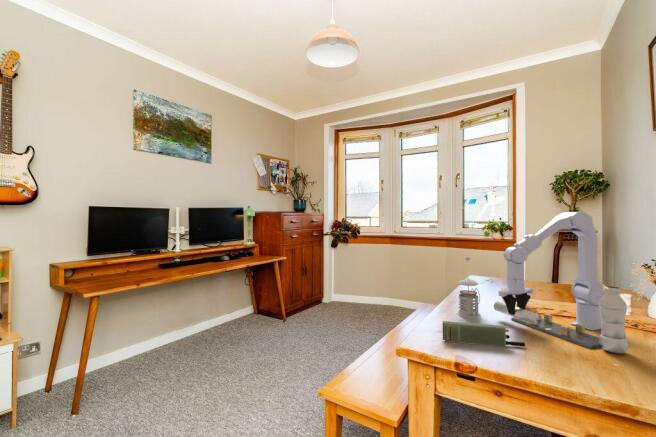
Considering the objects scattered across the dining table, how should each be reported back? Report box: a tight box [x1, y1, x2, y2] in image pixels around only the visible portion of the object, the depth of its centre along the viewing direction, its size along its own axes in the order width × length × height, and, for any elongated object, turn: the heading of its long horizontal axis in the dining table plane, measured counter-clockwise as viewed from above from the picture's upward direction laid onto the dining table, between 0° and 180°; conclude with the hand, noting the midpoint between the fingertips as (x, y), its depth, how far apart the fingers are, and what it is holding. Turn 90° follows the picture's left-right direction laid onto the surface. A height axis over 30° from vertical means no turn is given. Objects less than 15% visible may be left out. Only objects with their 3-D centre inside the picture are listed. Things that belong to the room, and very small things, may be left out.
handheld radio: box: [442, 320, 526, 348], centre depth 107 cm, size 7×3×25 cm
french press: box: [456, 256, 482, 319], centre depth 137 cm, size 10×12×25 cm
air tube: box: [493, 300, 543, 325], centre depth 123 cm, size 18×4×4 cm, turn 16°
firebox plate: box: [511, 313, 602, 350], centre depth 117 cm, size 10×30×4 cm, turn 16°
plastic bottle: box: [599, 285, 629, 354], centre depth 99 cm, size 6×7×20 cm
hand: (516, 313), depth 123 cm, fingers closed on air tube, 4 cm apart
